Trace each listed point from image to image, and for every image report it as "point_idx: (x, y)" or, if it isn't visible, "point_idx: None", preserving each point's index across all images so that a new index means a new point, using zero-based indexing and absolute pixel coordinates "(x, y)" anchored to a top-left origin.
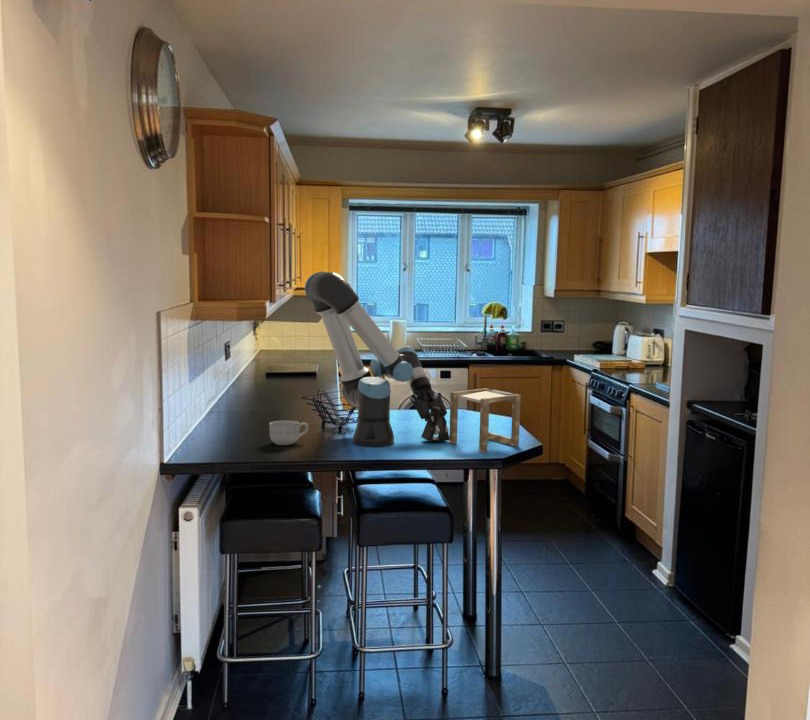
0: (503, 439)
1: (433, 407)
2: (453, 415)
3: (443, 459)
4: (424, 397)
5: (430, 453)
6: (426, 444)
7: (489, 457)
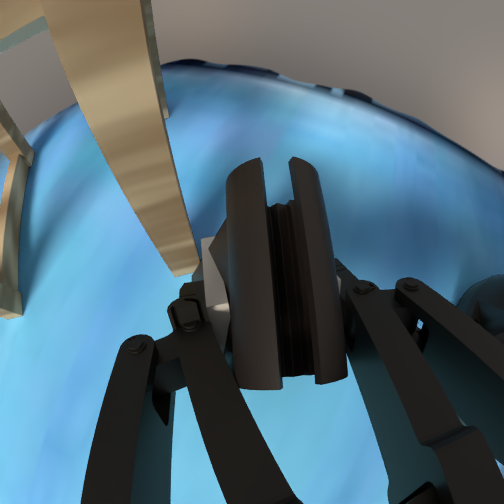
0: (16, 191)
1: (334, 317)
2: (169, 143)
3: (323, 91)
4: (492, 473)
5: (348, 146)
6: None
7: (182, 75)
